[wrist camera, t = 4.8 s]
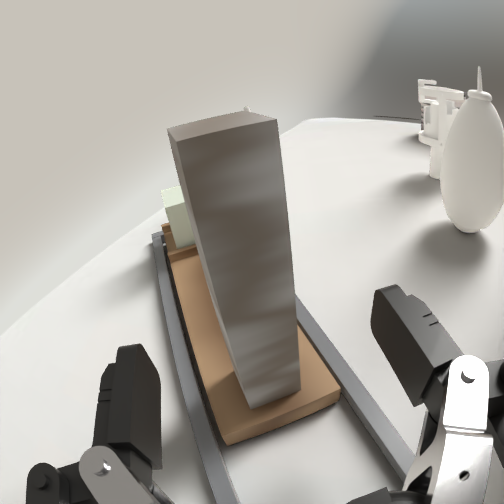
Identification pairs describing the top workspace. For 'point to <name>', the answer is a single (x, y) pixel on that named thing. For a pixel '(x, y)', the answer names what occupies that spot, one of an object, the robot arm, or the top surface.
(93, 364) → the top surface
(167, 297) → the track
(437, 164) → the white tall plastic piece
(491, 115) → the sauce bottle
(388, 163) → the top surface
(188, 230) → the block
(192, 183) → the wooden board with post
